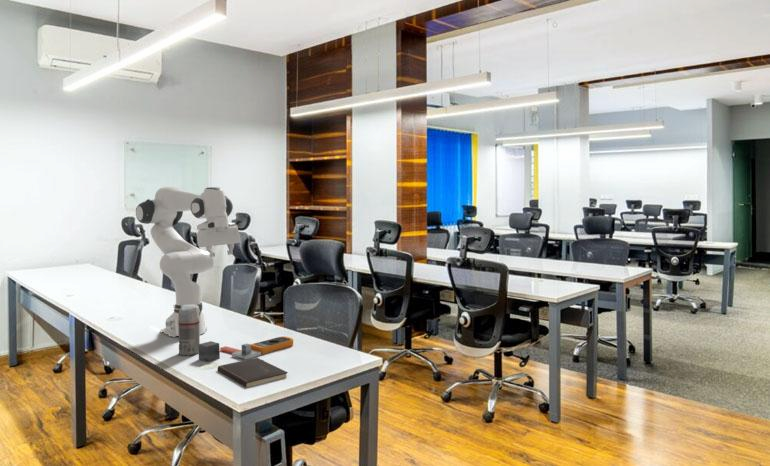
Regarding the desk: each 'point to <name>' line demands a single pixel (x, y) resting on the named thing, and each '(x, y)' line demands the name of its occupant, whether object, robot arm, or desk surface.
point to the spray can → (189, 329)
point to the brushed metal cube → (209, 351)
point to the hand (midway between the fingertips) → (221, 255)
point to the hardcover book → (252, 372)
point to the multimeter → (272, 344)
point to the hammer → (242, 352)
